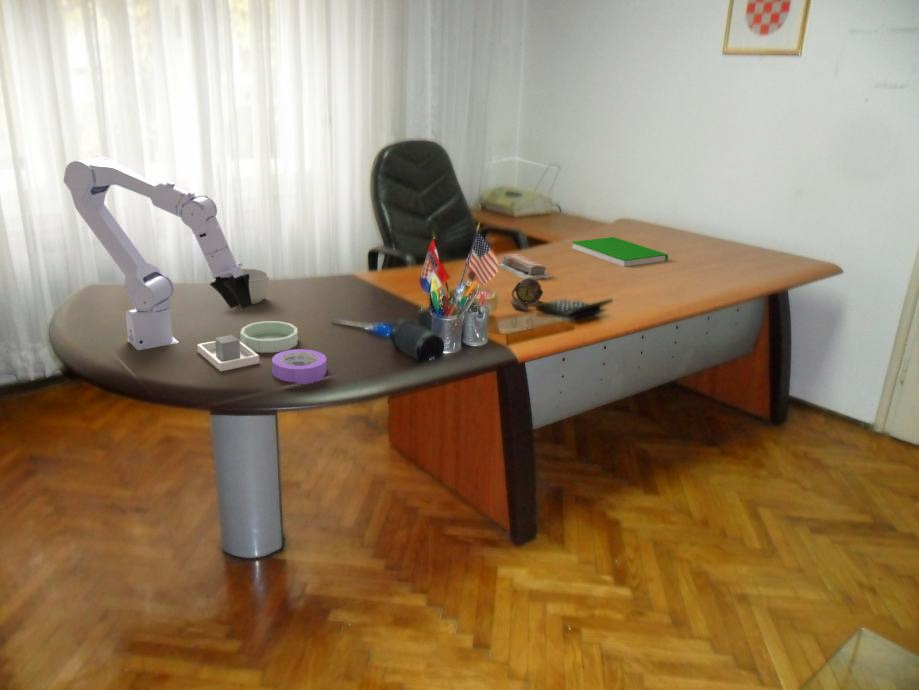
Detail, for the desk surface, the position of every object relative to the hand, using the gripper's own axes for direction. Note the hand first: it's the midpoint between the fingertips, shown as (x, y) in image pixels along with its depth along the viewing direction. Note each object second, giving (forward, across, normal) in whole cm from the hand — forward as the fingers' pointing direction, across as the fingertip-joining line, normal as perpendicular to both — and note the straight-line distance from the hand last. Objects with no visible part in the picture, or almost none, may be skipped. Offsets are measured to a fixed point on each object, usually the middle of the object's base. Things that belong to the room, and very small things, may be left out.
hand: (241, 306), depth 172 cm
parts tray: (+10, +1, +8) cm, 12 cm away
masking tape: (+17, -13, -1) cm, 22 cm away
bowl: (+12, +5, -4) cm, 13 cm away
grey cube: (+9, 0, +7) cm, 12 cm away
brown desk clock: (+34, 0, -78) cm, 85 cm away
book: (+47, +27, -150) cm, 159 cm away
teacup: (+5, +36, -13) cm, 38 cm away
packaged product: (+34, +25, -102) cm, 110 cm away
